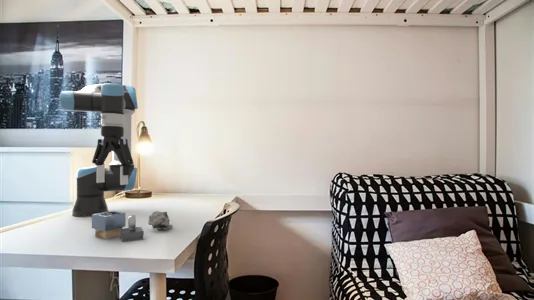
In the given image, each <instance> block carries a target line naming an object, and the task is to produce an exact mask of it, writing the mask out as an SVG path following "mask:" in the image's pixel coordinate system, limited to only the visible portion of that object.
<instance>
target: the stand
mask: <svg viewBox="0 0 534 300" xmlns="http://www.w3.org/2000/svg"><path fill="white" fill-rule="evenodd" d="M108 215H112V213H107V214H106V216H108ZM121 229H123V227H121V228H117V229H112V230H108V231H102V230H98V229H94V232H95V233H94V236H95V237H97V238H100V239H105V240H107V239H110V238H114V237H118V236H121Z"/></svg>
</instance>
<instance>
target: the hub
mask: <svg viewBox="0 0 534 300" xmlns="http://www.w3.org/2000/svg"><path fill="white" fill-rule="evenodd" d="M127 216H128V221H127V222H128V225H127V226H128V227H127V228H124V227H123V228H122V229H121V235H120V239H121V243H125V242H126V243H128V242H133V241H142V240H144V235H145V234H144V231H145V230H144V229H143V227H142V226H137V224H136V223H137V219H136V218H137V215H135V214H132V215H127Z"/></svg>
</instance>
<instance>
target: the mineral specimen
mask: <svg viewBox="0 0 534 300" xmlns="http://www.w3.org/2000/svg"><path fill="white" fill-rule="evenodd" d="M170 222H171V221H170V217H169V215H168V212H167V211H157V210H156V211H153V212H152V213H151V214H150V215H149V217H148V222H147V224H148V225H149V226H151V228H152V229H154V230H155V229H156V230H157V231H159V230H169V228H172V227H173V224H171V223H170Z"/></svg>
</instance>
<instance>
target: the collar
mask: <svg viewBox="0 0 534 300" xmlns="http://www.w3.org/2000/svg"><path fill="white" fill-rule="evenodd" d="M107 213H112V215H108V216H106V214H107ZM126 216H127V215H126V212H124V211H123V212H122V211H116V210H110V211H108V212H103V213H97V214H92V216H91V229H94V230H95V229H98V230H102V231H108V230H112V229H117V228H121V227H122V228H124V227H127V226H126V220H127V218H126Z"/></svg>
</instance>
